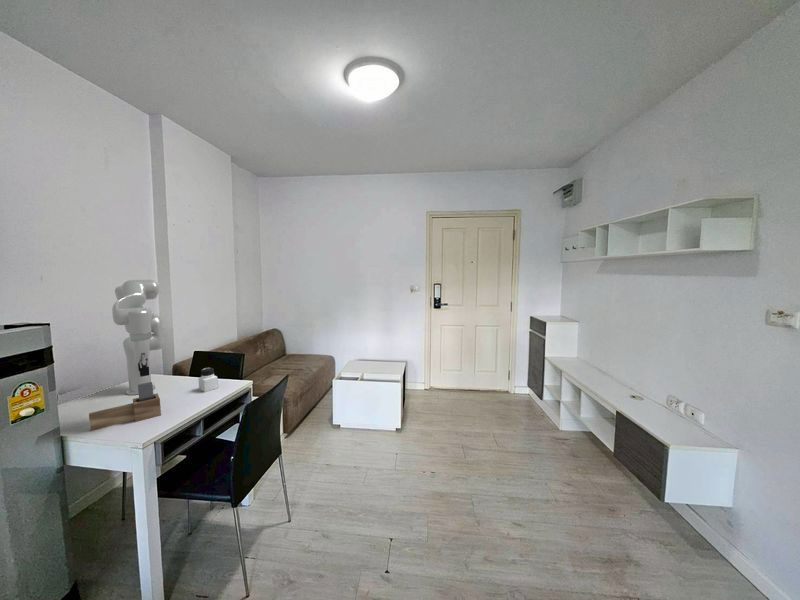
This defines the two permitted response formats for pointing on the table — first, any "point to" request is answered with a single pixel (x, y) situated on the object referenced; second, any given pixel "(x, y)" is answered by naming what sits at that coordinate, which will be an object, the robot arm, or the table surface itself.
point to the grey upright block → (145, 391)
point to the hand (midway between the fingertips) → (144, 373)
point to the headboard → (126, 413)
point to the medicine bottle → (208, 380)
